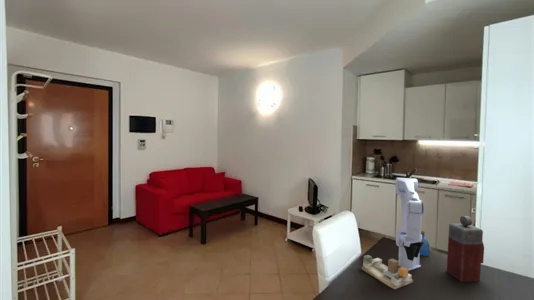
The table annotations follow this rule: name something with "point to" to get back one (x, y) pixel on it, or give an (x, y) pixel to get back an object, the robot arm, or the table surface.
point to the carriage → (392, 268)
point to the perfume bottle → (424, 245)
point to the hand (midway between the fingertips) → (412, 258)
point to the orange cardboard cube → (403, 272)
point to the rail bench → (376, 270)
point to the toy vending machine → (465, 250)
